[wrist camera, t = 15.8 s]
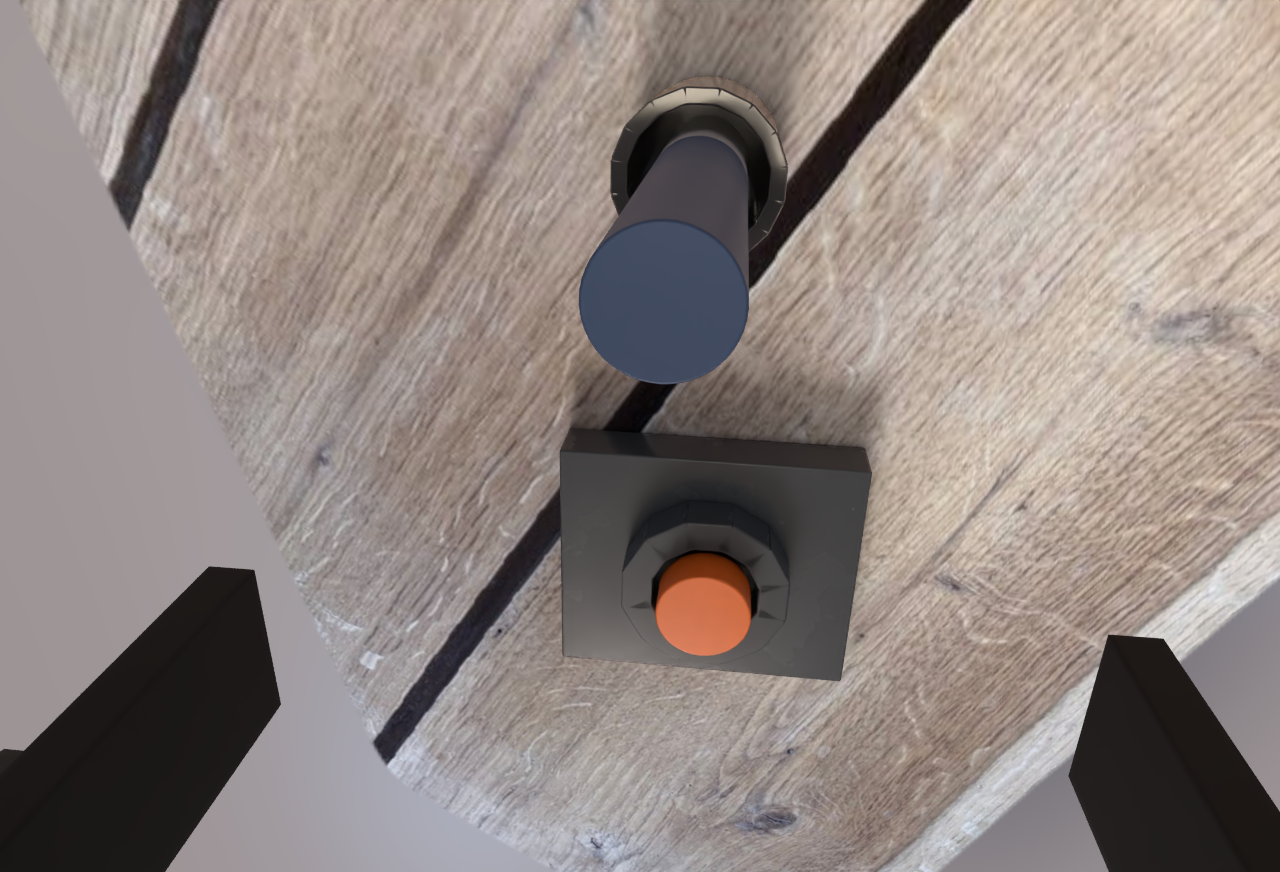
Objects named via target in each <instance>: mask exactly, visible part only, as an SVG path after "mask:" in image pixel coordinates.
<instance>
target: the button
mask: <svg viewBox="0 0 1280 872" xmlns="http://www.w3.org/2000/svg"><path fill="white" fill-rule="evenodd" d="M655 618H656V623H657V626H658V628H659V630H660V632H661V634H662V635H663V636H664V638H665V639H666V640H667V641H668V642H669V643H670V644H672V645H673V646H675V647H676V648H678V649H680V650H682V651H684V652H687V653H690V654H694V655H701V656H709V655H717V654H721V653H724V652H726V651H729V650H730V649H732V648H734V647H735V646H737V645H738V644H739V643H740V642H741V641H742V640H743V639H744V637H745V636H746V634H747V632H748V630H749V627H750V624H751V588H750V584H749V581H748V579H747V577H746V575H745V573H744V572H743V571H742V570H741V568H740V567H739V566H738V565H736V564H735V563H734V562H732V561H731V560H729V559H727V558H725V557H723V556H720V555H717V554H712V553H694V554H689V555H686V556H683V557H681V558H679V559H678V560H676V561H674V562H673V563H672V564H671V565H670V566H669V567H668V568H667V569H666V570H665V572H664V573H663V575H662V577H661V580H660V584H659V590H658V597H657V603H656V610H655Z"/></svg>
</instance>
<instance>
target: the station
mask: <svg viewBox="0 0 1280 872" xmlns="http://www.w3.org/2000/svg"><path fill="white" fill-rule="evenodd" d="M871 476H872V472H871V468H870V464H869V461H868V457H867V454H866V450H865V449H864V448H854V447H839V446H825V445H810V444H795V443H780V442H766V441H751V440H736V439H722V438H707V437H692V436H677V435H663V434H648V433H633V432H619V431H604V430H589V429H574V428H570V429H569V431H568V434H567V436H566V438H565V440H564V443H563V445H562V447H561V450H560V505H561V580H562V654H563V656H566V657H577V658H588V659H599V660H611V661H622V662H633V663H644V664H655V665H666V666H677V667H688V668H699V669H710V670H721V671H732V672H743V673H754V674H765V675H776V676H787V677H798V678H810V679H821V680H832V681H840V680H841V676H842V669H843V663H844V656H845V649H846V643H847V636H848V629H849V623H850V616H851V609H852V603H853V596H854V590H855V583H856V576H857V570H858V563H859V556H860V550H861V543H862V536H863V530H864V523H865V516H866V510H867V503H868V496H869V490H870V483H871ZM694 553H712V554H717V555H720V556H723V557H725V558H727V559H729V560H731V561H732V562H734V563H735V564H736V565H738V566H739V567H740V568H741V570H742V571H743V572H744V573H745V575H746V577H747V579H748V581H749V584H750V588H751V624H750V627H749V630H748V632H747V634H746V636H745V637H744V639H743V640H742V641H741V642H740V643H739V644H738V645H737V646H735V647H734V648H732V649H730V650H729V651H726V652H724V653H721V654H717V655H709V656H701V655H694V654H690V653H687V652H684V651H682V650H680V649H678V648H676V647H675V646H673V645H672V644H670V643H669V642H668V641H667V640H666V639H665V638H664V636H663V635H662V634H661V632H660V630H659V628H658V626H657V623H656V618H655V610H656V603H657V597H658V590H659V584H660V580H661V577H662V575H663V573H664V572H665V570H666V569H667V568H668V567H669V566H670V565H671V564H672V563H673V562H674V561H676V560H678V559H679V558H681V557H683V556H686V555H689V554H694Z"/></svg>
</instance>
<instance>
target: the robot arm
mask: <svg viewBox="0 0 1280 872" xmlns="http://www.w3.org/2000/svg"><path fill="white" fill-rule="evenodd" d="M280 705H281V703H280V697H279V692H278V687H277V682H276V677H275V672H274V667H273V662H272V657H271V652H270V647H269V642H268V637H267V632H266V627H265V621H264V617H263V611H262V607H261V601H260V597H259V591H258V586H257V581H256V576H255V571H254V570H249V569H235V568H223V567H222V568H221V567H208V568H207V569H206V570H205V571H204V572H203V573H202V574H201V575H200V576H199V577H198V578H197V579H196V580H195V581H194V582H193V583H192V584H191V585H190V586H189V587H188V588H187V589H186V590H185V591H184V592H183V593H182V594H181V595H180V596H179V597H178V598H177V599H176V600H175V601H174V602H173V603H172V604H171V605H170V606H169V607H168V608H167V609H166V610H165V611H164V612H163V613H162V614H161V615H160V616H159V617H158V618H157V619H156V620H155V621H154V622H153V623H152V624H151V625H150V626H149V627H148V628H147V629H146V630H145V631H144V632H143V633H142V634H141V635H140V636H139V637H138V638H137V639H136V640H135V641H134V642H133V643H132V644H131V645H130V646H129V647H128V648H127V649H126V650H125V651H124V652H123V653H122V654H121V655H120V656H119V657H118V658H117V659H116V660H115V661H114V662H113V663H112V664H111V665H110V666H109V667H108V668H107V669H106V670H105V671H104V672H103V673H102V674H101V675H100V676H99V677H98V678H97V679H96V680H95V681H94V682H93V683H92V684H91V685H90V686H89V687H88V688H87V689H86V690H85V691H84V692H83V693H82V694H81V695H80V696H79V697H78V698H77V699H76V700H75V701H74V702H73V703H72V704H71V705H70V706H69V707H68V708H67V709H66V710H65V711H64V712H63V713H62V714H61V715H60V716H59V717H58V718H57V719H56V720H55V721H54V722H53V723H52V724H51V725H50V726H49V727H48V728H47V729H46V730H45V731H44V732H43V733H42V734H40V735H39V736H38V737H37V739H35V740H34V741H33V743H31V745H29V747H27V748H26V750H24V751H20V750H10V749H3V750H2V751H0V872H165V871H166V870H167V868H168V867H169V865H170V864H171V862H172V861H173V860H174V858H175V857H176V855H177V854H178V852H179V851H180V849H181V848H182V846H183V845H184V844H185V842H186V841H187V839H188V838H189V836H190V835H191V834H192V832H193V831H194V829H195V828H196V826H197V825H198V823H199V822H200V820H201V819H202V817H203V816H204V815H205V813H206V812H207V810H208V809H209V807H210V806H211V805H212V803H213V802H214V800H215V799H216V797H217V796H218V795H219V793H220V792H221V790H222V789H223V787H224V786H225V784H226V783H227V781H228V780H229V778H230V777H231V776H232V774H233V773H234V772H235V770H236V768H237V767H238V766H239V764H240V763H241V761H242V760H243V758H244V757H245V755H246V754H247V753H248V751H249V750H250V748H251V747H252V746H253V744H254V743H255V741H256V740H257V738H258V737H259V735H260V734H261V733H262V731H263V729H264V728H265V727H266V725H267V724H268V722H269V721H270V719H271V718H272V717H273V715H274V714H275V712H276V711H277V709H278V708H279V706H280ZM1069 778H1070V781H1071V783H1072V785H1073V787H1074V790H1075V793H1076V795H1077V797H1078V800H1079V802H1080V804H1081V807H1082V809H1083V811H1084V814H1085V816H1086V819H1087V821H1088V823H1089V826H1090V828H1091V830H1092V832H1093V835H1094V837H1095V840H1096V842H1097V845H1098V847H1099V849H1100V852H1101V854H1102V856H1103V859H1104V861H1105V863H1106V866H1107V868H1108V871H1109V872H1280V812H1279V810H1278V808H1277V807H1276V806H1275V804H1274V803H1273V801H1272V800H1271V798H1270V797H1269V795H1268V794H1267V792H1266V791H1265V789H1264V788H1263V786H1262V785H1261V783H1260V782H1259V780H1258V779H1257V777H1256V776H1255V775H1254V773H1253V771H1252V770H1251V768H1250V767H1249V765H1248V764H1247V763H1246V761H1245V759H1244V758H1243V756H1242V755H1241V753H1240V752H1239V750H1238V749H1237V748H1236V746H1235V745H1234V743H1233V742H1232V740H1231V739H1230V737H1229V736H1228V734H1227V733H1226V731H1225V730H1224V728H1223V727H1222V725H1221V724H1220V722H1219V721H1218V719H1217V718H1216V716H1215V715H1214V713H1213V712H1212V711H1211V709H1210V707H1209V706H1208V705H1207V703H1206V701H1205V700H1204V699H1203V697H1202V696H1201V694H1200V693H1199V691H1198V690H1197V688H1196V687H1195V685H1194V684H1193V682H1192V681H1191V679H1190V678H1189V676H1188V675H1187V673H1186V672H1185V670H1184V669H1183V667H1182V666H1181V664H1180V663H1179V661H1178V660H1177V658H1176V657H1175V655H1174V654H1173V652H1172V651H1171V649H1170V648H1169V646H1168V645H1167V643H1166V642H1165V640H1164V639H1159V638H1146V637H1133V636H1120V635H1108V638H1107V641H1106V645H1105V648H1104V652H1103V655H1102V659H1101V663H1100V666H1099V670H1098V673H1097V677H1096V680H1095V684H1094V687H1093V691H1092V695H1091V698H1090V702H1089V705H1088V709H1087V712H1086V716H1085V719H1084V723H1083V726H1082V730H1081V734H1080V737H1079V741H1078V744H1077V748H1076V751H1075V755H1074V758H1073V762H1072V765H1071V769H1070V773H1069Z"/></svg>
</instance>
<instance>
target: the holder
mask: <svg viewBox="0 0 1280 872" xmlns="http://www.w3.org/2000/svg"><path fill="white" fill-rule="evenodd" d="M702 116H713V117H718V118H721V119H723V120H725V121H727V122H729V123H730V124H732V125H733V126H734V127H735V128H736V129H737V130H738V131H739V133H740V134H741V136H742V138H743V139H744V142H745V145H746V149H747V167H748V252H749V251H750V250H751V249H752V248H753V247H755V246H756V245H757V244H758V243H759V242H760V241H761V240H763V239H764V238H765V237H766V236H767V235H768V233H769V232H770V230H771V228H772V227H773V225H774V223H775V221H776V219H777V217H778V215H779V213H780V211H781V209H782V207H783V205H784V201H785V195H786V184H787V173H788V167H787V165H788V164H787V161H786V158H785V154H784V151H783V148H782V144H781V141H780V138H779V134H778V131H777V128H776V125H775V121H774V118H773V116H772V114H771V113H770V112H769V110H768V109H767V107H766V106H765V105H764V103H763V102H762V101H761V100H760V99H759V98H758V97H757V96H756V95H755V94H754V93H753V92H752V91H750V90H749V89H748V88H746V87H745V86H743V85H741V84H739V83H737V82H735V81H732V80H730V79H726V78H722V77H714V76H700V77H694V78H689V79H686V80H683V81H680V82H678V83H676V84H674V85H672V86H670V87H668V88H666V89H664V90H663V91H661V92H660V93H659V94H657V95H656V96H655V97H654V98H652V99H651V100H650V101H649V102H648V103H647V104H646V105H645V106H644V107H643V108H642V109H641V110H640V111H639V112H638V113H637V114H636V115H635V116H634V117H633V118H632V119H631V120H630V121H629V122H628V123H627V124H626V126H625V127H624V128H623V131H622V133H621V136H620V138H619V140H618V143H617V145H616V148H615V150H614V153H613V155H612V160H611V188H610V193H611V194H612V195H611V197H612V200H613V203H614V205H615V208H616V210H617V213H618V216H619V215H620V214H621V212H622V211H623V209H624V208H625V206H626V205H627V203H628V202H629V200H630V199H631V197H632V196H633V194H634V193H635V191H636V190H637V188H638V187H639V185H640V184H641V182H642V181H643V179H644V178H645V176H646V175H647V173H648V172H649V170H650V169H651V167H652V166H653V164H654V163H655V161H656V160H657V158H658V157H659V155H660V154H661V152H662V151H663V149H664V148H665V146H666V145H667V144H668V142H669V141H670V139H671V138H672V136H673V135H674V133H675V132H676V131H677V130H678V128H679V127H681V126H682V125H683V124H684V123H686V122H687V121H689V120H691V119H694V118H697V117H702Z"/></svg>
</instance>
